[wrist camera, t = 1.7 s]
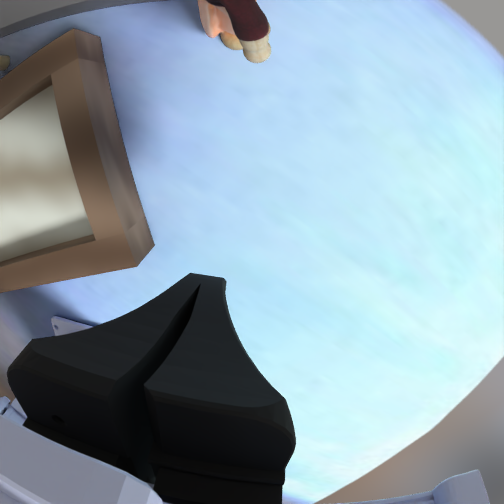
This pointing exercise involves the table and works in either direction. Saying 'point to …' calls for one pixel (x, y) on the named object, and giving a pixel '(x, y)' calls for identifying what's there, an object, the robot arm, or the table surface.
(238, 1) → the grandmother figurine
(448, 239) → the table surface
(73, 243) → the picture frame
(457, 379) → the table surface
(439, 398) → the table surface
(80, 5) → the picture rail
